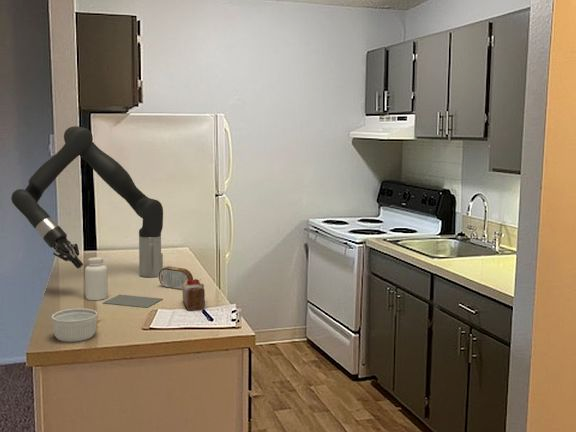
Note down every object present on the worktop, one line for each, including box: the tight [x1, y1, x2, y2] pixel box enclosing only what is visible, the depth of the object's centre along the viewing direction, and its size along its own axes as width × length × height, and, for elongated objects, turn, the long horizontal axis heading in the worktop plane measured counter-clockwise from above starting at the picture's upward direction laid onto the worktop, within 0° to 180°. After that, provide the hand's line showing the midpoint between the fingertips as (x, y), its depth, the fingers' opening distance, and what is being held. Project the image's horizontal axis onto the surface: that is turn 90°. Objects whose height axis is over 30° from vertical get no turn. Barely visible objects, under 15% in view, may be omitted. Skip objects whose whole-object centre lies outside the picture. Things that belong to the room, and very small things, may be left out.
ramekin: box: [51, 307, 98, 343], centre depth 192 cm, size 13×13×7 cm
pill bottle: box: [84, 256, 109, 301], centre depth 235 cm, size 8×8×15 cm
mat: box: [102, 294, 163, 309], centre depth 232 cm, size 18×12×1 cm, turn 75°
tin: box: [158, 266, 194, 291], centre depth 251 cm, size 15×3×8 cm, turn 65°
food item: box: [181, 278, 206, 312], centre depth 227 cm, size 14×8×10 cm, turn 17°
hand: (80, 266), depth 236 cm, fingers closed
